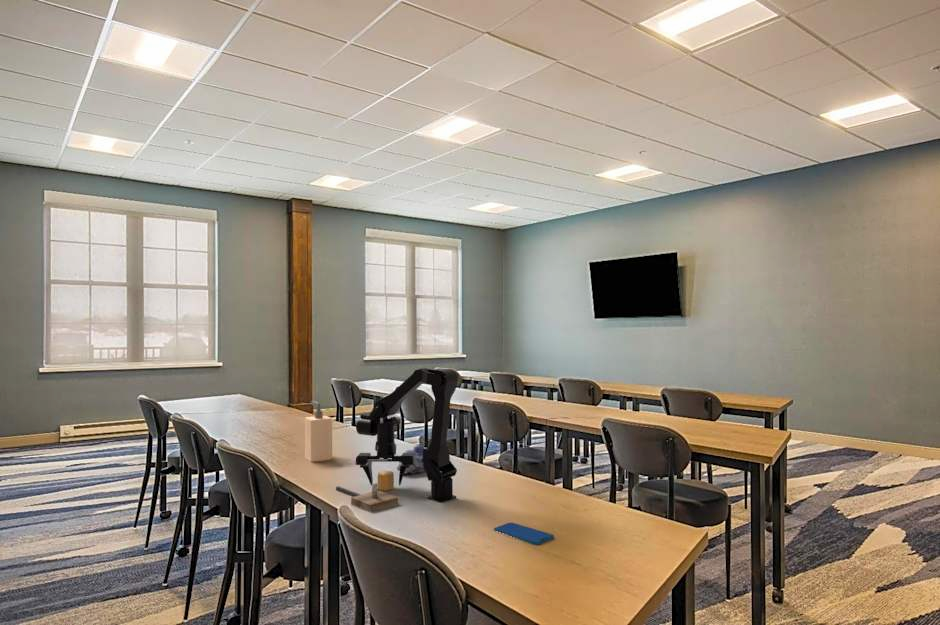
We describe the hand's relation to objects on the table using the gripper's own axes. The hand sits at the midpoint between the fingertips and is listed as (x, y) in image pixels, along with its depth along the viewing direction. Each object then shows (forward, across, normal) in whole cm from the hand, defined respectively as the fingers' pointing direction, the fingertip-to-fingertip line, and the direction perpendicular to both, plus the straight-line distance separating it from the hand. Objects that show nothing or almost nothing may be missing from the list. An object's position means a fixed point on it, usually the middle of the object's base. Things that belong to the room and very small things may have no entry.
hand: (385, 485), depth 189 cm
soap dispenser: (+1, +35, -43) cm, 55 cm away
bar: (+1, +10, +7) cm, 12 cm away
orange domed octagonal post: (+1, 0, 0) cm, 1 cm away
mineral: (+1, -7, -22) cm, 23 cm away
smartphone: (+2, -42, +40) cm, 58 cm away
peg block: (+1, +1, +16) cm, 16 cm away
